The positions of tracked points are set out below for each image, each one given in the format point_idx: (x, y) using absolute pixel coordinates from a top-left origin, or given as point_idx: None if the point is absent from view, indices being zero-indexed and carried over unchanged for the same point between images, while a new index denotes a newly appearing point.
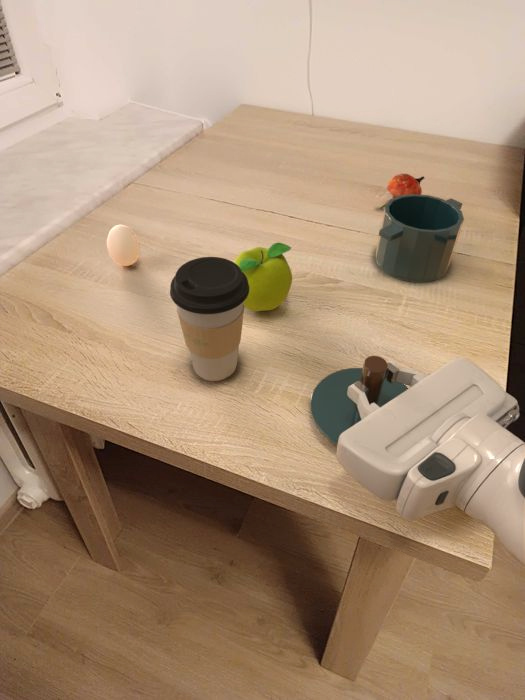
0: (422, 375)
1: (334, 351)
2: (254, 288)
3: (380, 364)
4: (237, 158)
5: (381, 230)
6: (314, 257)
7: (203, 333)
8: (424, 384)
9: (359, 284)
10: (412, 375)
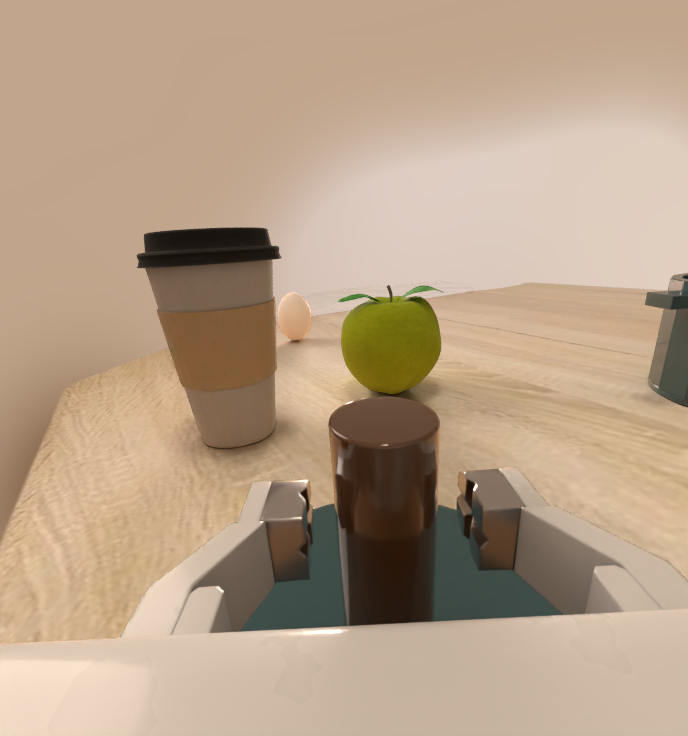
0: (678, 592)
1: (456, 476)
2: (353, 333)
3: (399, 424)
4: (492, 301)
5: (651, 292)
6: (525, 364)
7: (163, 323)
8: (658, 657)
9: (593, 401)
10: (599, 565)
